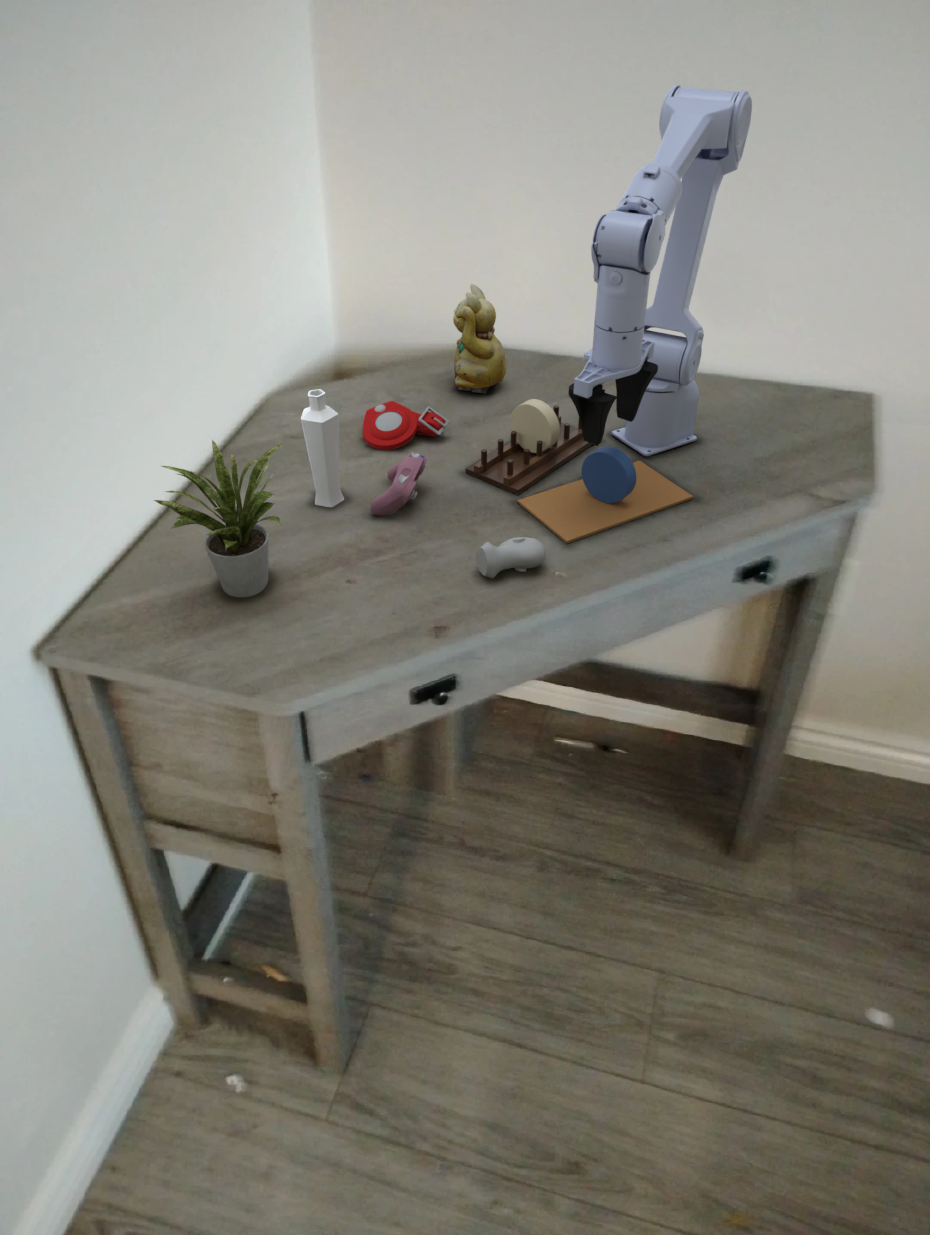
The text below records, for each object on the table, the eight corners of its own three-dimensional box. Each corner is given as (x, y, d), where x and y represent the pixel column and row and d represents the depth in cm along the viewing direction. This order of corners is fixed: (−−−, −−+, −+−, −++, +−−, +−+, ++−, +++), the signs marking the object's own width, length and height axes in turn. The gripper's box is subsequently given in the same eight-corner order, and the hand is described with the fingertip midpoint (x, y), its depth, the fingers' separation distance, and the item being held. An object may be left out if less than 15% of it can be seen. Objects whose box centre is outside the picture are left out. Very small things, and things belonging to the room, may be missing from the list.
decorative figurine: (457, 370, 152) (456, 278, 142) (508, 372, 151) (509, 279, 142) (450, 396, 144) (448, 300, 135) (503, 398, 144) (505, 302, 134)
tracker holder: (371, 450, 129) (348, 405, 135) (378, 471, 133) (355, 427, 138) (451, 418, 131) (425, 375, 136) (455, 440, 134) (430, 397, 140)
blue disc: (587, 485, 123) (593, 438, 118) (632, 505, 119) (640, 457, 115) (578, 491, 122) (584, 444, 117) (624, 511, 118) (631, 463, 114)
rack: (546, 422, 138) (548, 398, 135) (598, 440, 133) (600, 416, 131) (465, 473, 127) (464, 448, 124) (518, 495, 122) (518, 469, 120)
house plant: (250, 530, 116) (228, 410, 106) (334, 566, 110) (320, 442, 100) (161, 587, 107) (128, 462, 97) (248, 630, 101) (222, 501, 91)
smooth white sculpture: (536, 561, 112) (550, 573, 108) (472, 570, 111) (484, 583, 106) (534, 526, 111) (549, 537, 106) (469, 535, 109) (481, 547, 104)
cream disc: (517, 438, 132) (519, 392, 127) (558, 454, 128) (561, 407, 124) (509, 444, 130) (510, 398, 126) (550, 459, 127) (552, 412, 122)
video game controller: (398, 530, 119) (420, 490, 114) (365, 513, 118) (387, 472, 113) (416, 490, 126) (437, 451, 122) (386, 474, 125) (407, 434, 121)
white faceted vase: (352, 493, 123) (341, 387, 113) (338, 510, 120) (326, 402, 110) (320, 487, 124) (307, 382, 114) (306, 504, 121) (291, 397, 111)
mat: (639, 462, 128) (639, 460, 128) (692, 498, 121) (693, 496, 121) (517, 502, 121) (517, 500, 120) (566, 543, 113) (566, 541, 113)
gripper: (623, 297, 113) (613, 400, 122) (554, 334, 104) (548, 442, 113) (674, 310, 109) (660, 415, 118) (607, 350, 101) (597, 460, 109)
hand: (609, 430), depth 115 cm, fingers open, 7 cm apart
